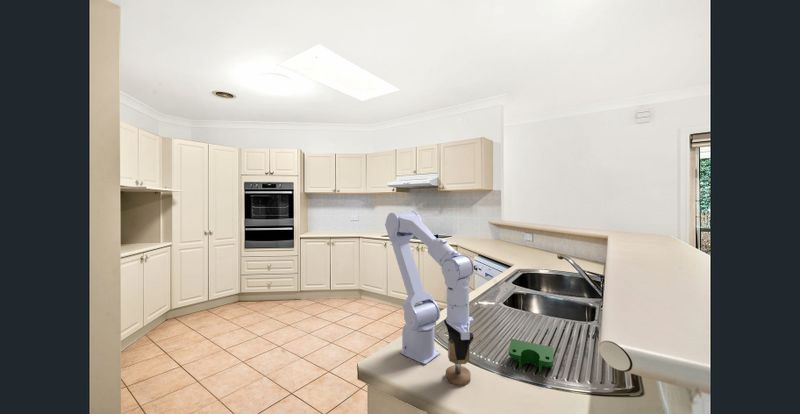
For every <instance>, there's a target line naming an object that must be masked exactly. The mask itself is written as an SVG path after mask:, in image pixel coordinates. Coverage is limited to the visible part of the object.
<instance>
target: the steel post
mask: <svg viewBox="0 0 800 414" xmlns="http://www.w3.org/2000/svg"><path fill="white" fill-rule="evenodd" d="M454 366H455V373H456V374H461V366H462V364H455V363H454Z"/></svg>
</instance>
